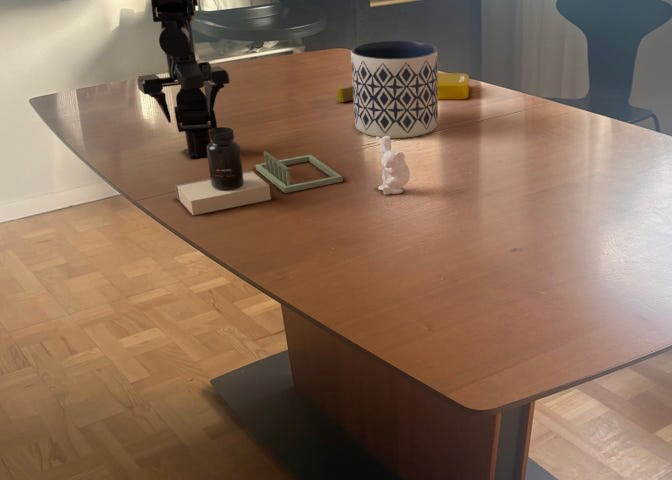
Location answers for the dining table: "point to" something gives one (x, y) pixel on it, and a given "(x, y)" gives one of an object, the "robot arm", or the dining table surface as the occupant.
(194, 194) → the cream bevelled block
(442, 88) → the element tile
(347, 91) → the medication box
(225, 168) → the supplement bottle
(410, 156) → the dining table surface
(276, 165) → the dish rack
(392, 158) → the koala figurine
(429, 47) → the planter
